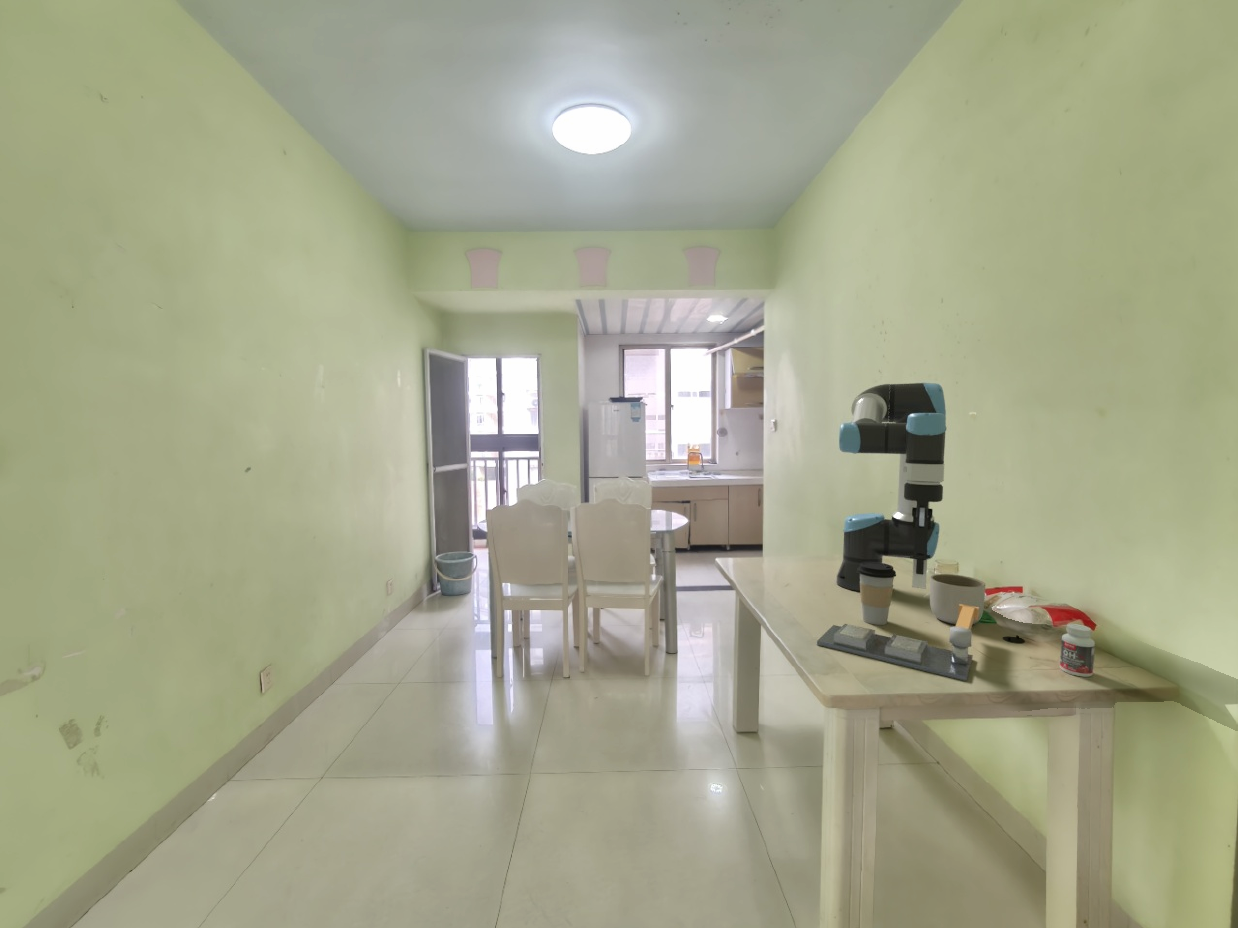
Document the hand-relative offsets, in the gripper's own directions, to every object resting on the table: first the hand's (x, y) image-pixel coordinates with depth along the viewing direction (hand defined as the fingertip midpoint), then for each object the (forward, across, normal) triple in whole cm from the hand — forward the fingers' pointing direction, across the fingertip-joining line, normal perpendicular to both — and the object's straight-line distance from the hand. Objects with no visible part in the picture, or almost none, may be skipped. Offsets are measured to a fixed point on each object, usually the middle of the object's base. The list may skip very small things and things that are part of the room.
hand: (919, 587), depth 123 cm
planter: (+16, -31, +9) cm, 36 cm away
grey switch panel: (+16, 0, -5) cm, 16 cm away
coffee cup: (+16, -20, -10) cm, 27 cm away
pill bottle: (+16, -8, +30) cm, 35 cm away
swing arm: (+11, -8, +9) cm, 16 cm away
